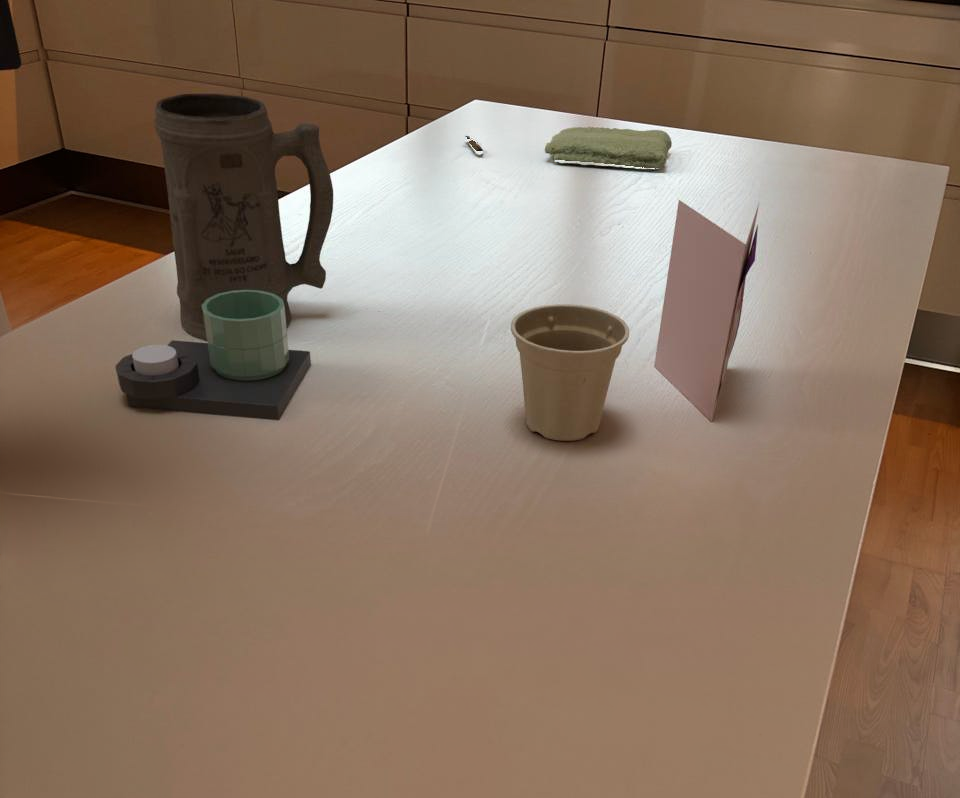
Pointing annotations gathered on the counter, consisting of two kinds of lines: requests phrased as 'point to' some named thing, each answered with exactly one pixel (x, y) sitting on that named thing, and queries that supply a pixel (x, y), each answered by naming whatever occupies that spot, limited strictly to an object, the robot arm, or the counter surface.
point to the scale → (211, 386)
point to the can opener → (474, 145)
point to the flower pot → (567, 366)
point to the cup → (246, 334)
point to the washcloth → (611, 146)
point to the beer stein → (235, 200)
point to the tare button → (155, 360)
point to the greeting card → (702, 306)
